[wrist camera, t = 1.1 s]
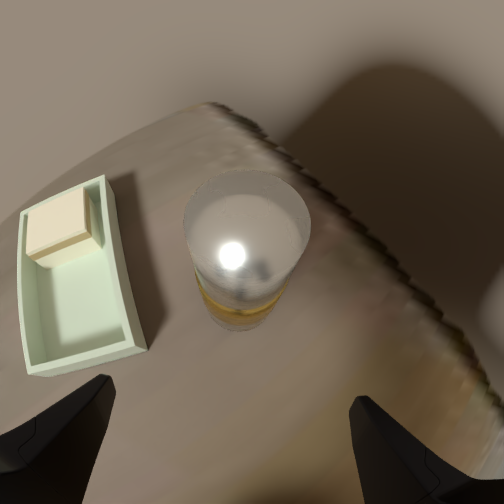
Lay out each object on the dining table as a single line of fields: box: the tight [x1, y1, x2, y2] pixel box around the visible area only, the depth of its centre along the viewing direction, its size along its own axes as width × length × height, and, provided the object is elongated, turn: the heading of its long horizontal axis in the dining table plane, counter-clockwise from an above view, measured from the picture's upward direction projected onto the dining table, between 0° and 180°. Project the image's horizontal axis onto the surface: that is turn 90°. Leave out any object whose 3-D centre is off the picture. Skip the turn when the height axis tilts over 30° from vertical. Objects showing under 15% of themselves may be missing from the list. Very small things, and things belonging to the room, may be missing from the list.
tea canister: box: [184, 170, 311, 332], centre depth 18 cm, size 6×6×13 cm
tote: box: [17, 175, 148, 377], centre depth 22 cm, size 17×11×4 cm, turn 22°
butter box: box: [26, 187, 102, 270], centre depth 23 cm, size 5×7×4 cm
